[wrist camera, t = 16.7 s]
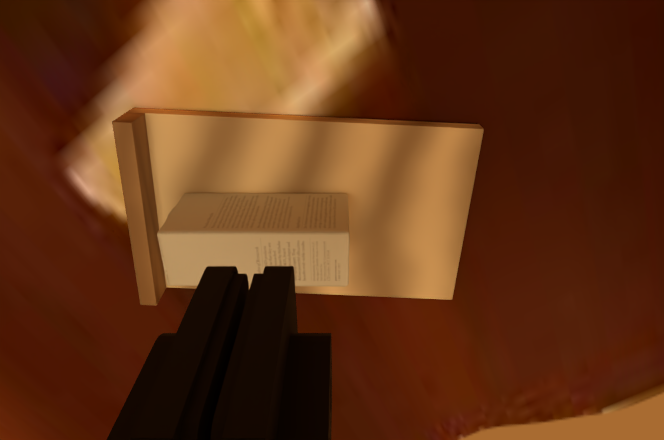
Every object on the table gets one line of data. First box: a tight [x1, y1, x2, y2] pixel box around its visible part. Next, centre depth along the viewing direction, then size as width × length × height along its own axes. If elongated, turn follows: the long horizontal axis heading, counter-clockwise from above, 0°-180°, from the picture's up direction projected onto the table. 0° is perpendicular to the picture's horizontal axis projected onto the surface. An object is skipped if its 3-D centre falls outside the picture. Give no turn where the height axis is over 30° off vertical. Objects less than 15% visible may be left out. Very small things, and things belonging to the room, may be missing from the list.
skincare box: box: [157, 193, 350, 287], centre depth 34 cm, size 6×4×12 cm
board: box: [112, 108, 484, 305], centre depth 36 cm, size 24×14×4 cm, turn 87°
